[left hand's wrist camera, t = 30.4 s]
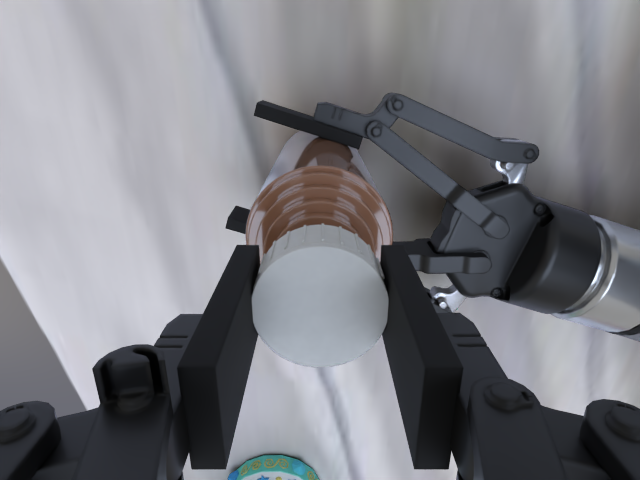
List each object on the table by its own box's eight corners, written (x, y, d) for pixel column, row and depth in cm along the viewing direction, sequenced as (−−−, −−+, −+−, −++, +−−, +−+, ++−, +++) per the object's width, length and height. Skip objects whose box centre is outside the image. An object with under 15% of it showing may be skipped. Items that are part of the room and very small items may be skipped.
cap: (392, 229, 14) (403, 252, 12) (372, 339, 16) (379, 375, 14) (262, 215, 14) (252, 237, 12) (254, 328, 16) (245, 362, 14)
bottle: (295, 219, 35) (265, 398, 16) (265, 143, 33) (185, 240, 13) (371, 192, 34) (441, 346, 15) (345, 113, 32) (386, 169, 13)
